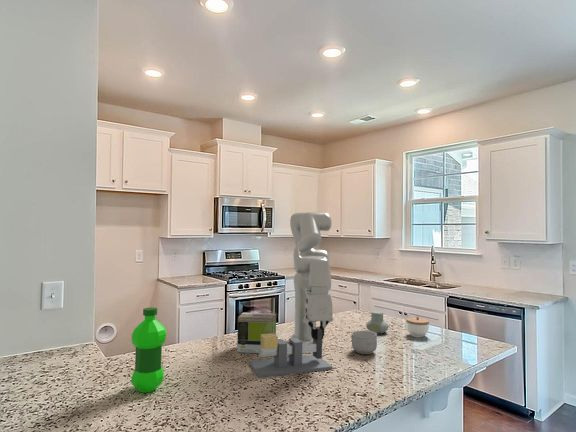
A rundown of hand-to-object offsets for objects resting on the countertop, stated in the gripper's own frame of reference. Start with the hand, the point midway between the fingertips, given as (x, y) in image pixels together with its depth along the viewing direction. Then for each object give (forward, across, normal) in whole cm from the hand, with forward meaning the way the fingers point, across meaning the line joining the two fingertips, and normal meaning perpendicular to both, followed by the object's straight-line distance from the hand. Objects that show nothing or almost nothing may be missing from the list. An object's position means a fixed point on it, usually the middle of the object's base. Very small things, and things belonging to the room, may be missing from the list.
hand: (317, 338), depth 146 cm
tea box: (+10, -18, +22) cm, 30 cm away
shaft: (+7, -11, 0) cm, 13 cm away
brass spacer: (+2, -20, 0) cm, 20 cm away
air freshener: (+10, +48, +33) cm, 59 cm away
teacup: (+10, +26, +8) cm, 29 cm away
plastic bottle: (+10, -61, -6) cm, 62 cm away
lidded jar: (+10, +64, +22) cm, 68 cm away
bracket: (+10, -11, 0) cm, 15 cm away
